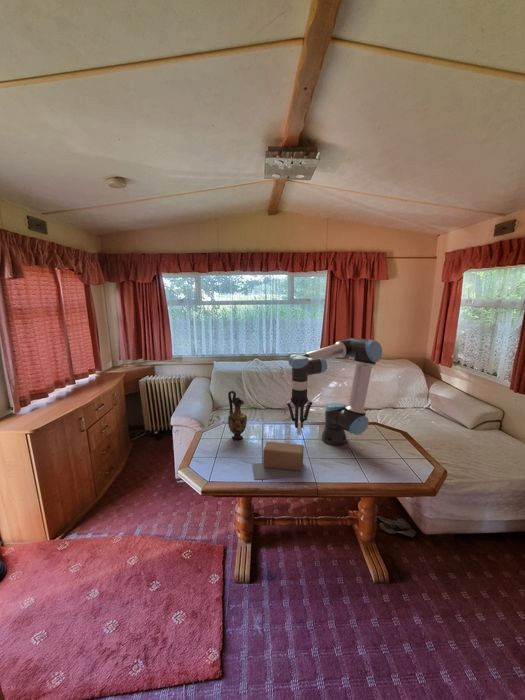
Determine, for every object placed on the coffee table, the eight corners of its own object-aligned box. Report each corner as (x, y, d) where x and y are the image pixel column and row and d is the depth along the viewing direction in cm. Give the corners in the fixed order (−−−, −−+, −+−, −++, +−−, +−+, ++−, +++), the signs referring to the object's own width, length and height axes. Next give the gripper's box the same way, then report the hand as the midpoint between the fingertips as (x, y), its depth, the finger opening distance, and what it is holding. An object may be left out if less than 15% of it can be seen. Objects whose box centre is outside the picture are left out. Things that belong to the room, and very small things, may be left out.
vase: (239, 444, 174) (239, 396, 169) (223, 439, 181) (222, 392, 176) (250, 436, 184) (250, 391, 179) (234, 432, 190) (234, 388, 186)
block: (302, 453, 143) (263, 449, 147) (302, 472, 145) (262, 467, 149) (303, 444, 153) (266, 440, 157) (303, 461, 155) (266, 457, 158)
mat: (297, 461, 155) (297, 461, 155) (303, 477, 141) (303, 476, 141) (252, 464, 153) (252, 463, 153) (254, 479, 139) (254, 479, 139)
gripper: (310, 385, 146) (309, 429, 150) (285, 386, 144) (284, 431, 148) (314, 390, 138) (313, 436, 142) (287, 391, 137) (287, 437, 141)
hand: (298, 433), depth 145 cm, fingers closed
